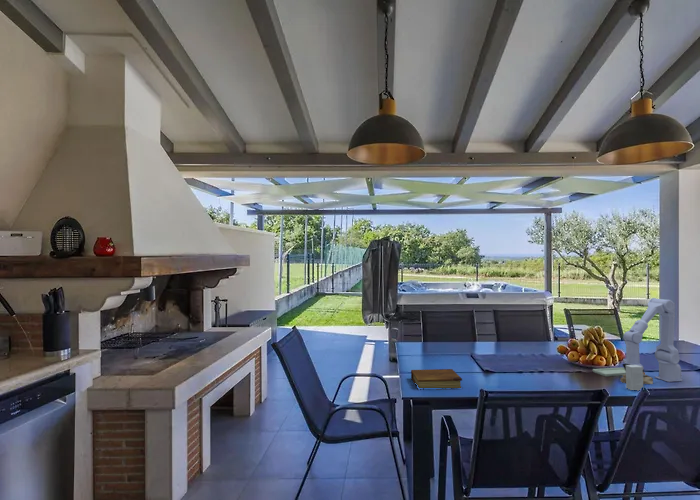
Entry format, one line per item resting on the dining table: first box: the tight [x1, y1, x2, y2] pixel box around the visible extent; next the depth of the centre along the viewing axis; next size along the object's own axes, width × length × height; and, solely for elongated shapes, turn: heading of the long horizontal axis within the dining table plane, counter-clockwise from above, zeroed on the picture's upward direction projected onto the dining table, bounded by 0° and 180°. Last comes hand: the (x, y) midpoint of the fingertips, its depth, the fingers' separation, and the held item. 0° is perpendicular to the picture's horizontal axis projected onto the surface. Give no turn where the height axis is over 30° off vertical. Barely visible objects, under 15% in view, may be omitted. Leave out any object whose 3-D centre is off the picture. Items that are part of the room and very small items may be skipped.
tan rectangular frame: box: [620, 374, 654, 385], centre depth 212 cm, size 14×5×3 cm, turn 85°
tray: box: [592, 366, 626, 378], centre depth 228 cm, size 20×10×2 cm, turn 98°
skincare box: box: [625, 365, 644, 392], centre depth 200 cm, size 6×4×12 cm
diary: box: [410, 368, 463, 388], centre depth 213 cm, size 23×19×6 cm
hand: (633, 379), depth 212 cm, fingers closed on tan rectangular frame, 5 cm apart
